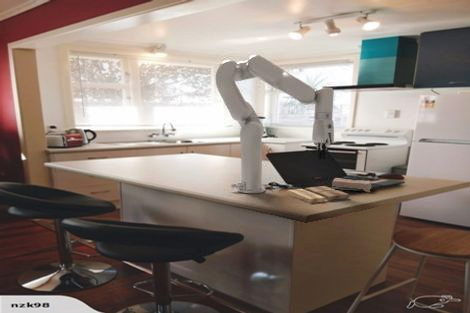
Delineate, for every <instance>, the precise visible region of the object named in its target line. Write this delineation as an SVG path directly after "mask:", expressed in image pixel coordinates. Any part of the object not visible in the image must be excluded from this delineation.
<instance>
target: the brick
mask: <svg viewBox="0 0 470 313" xmlns="http://www.w3.org/2000/svg"><path fill="white" fill-rule="evenodd" d="M331 184H332V187H333V186H336V187H349V188H358V189H363V190H364V191H365V192H364V193H371V191H370V189H371V190H372V182H371V181H370V180H362V179H361V180H358V179H356V180H353V179H346V178H341V177H334V179H333V180H332V183H331Z"/></svg>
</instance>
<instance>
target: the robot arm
mask: <svg viewBox="0 0 470 313" xmlns="http://www.w3.org/2000/svg"><path fill="white" fill-rule="evenodd" d="M256 78H258V79H260V80H261V81H263V82H264V83H266V84H268V85H269V86H271V87H272V88H275V89H276V90H279V91H281V92H283V93H284V94H287V95H289V96H290V97H292V98H293V99H294V100H296V101H298V102H299V103H300V104H302V105H307V106H308V105H309V106H310V105H314V114H313V115H314V117H313V118H314V120H313V125H312V134H311V135H312V136H311V138H312V141H313V144H314V145H315V146H316V150H317V152H316V159H317V160H325V159H326V154H327V153H326V152H327V149H328V148H329V147H331V144H333V143H334V141H335V129H334V126H335V125H334V121H333V113H334V111H333V109H334V96H335V95H334V94H335V93H334V88H332V87H317V88H314V87H312V86H311V85H310V84H307V83H305V82H304V81H302V79H301V80H300V79H299V78H297V77H296V76H294V75H292V74H291V73H289V72H288V71H286V70H284V68H282V67H280V66H278V65H276V64H274V63H273V62H271V61H270V60H268V59H267V58H265V57H263V56H261V55H260V54H252V55H251V56H249V58H248V59H247V60H245V61H239V62H236V61H235V60H232V59H226V60H224V61H223V62H221V63H220V65H219V66H218V68H217V70H216V73H215V85H216V88H217V90H218V93H219V94H220V96H221V97H220V98H222V100H223V102H224V105H225V107H227V108H226V109H227V110H228V112H229V114H230V116H231V117H232V119H234V120H235V121H236V122H238V124H239V127H240V132H239V141H240V142H239V143H240V180H239V181H238V182H233V183H231V184H230V187H231V188H233V189H234V188H236V189H237V191H238V192H239V193H243V194H261V193H264V192H266V187H264V186H263V147H262V146H263V145H262V144H263V141H262V138H263V136H264V134H265V128H264V126H263V123H262V122H261V120H260V118H259V117H258V114H257V112H256V111H255V109H254V108H253V107H254V106H252V104H251V103H249V102H248V101H246V100H245V98H244V97H243V94H242V92H241V91H240V89H239V87H238V85H237V84H236V82H241V81H245V80H250V79H256Z"/></svg>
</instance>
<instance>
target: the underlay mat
mask: <svg viewBox="0 0 470 313" xmlns="http://www.w3.org/2000/svg"><path fill="white" fill-rule="evenodd" d="M297 199H298V200H300V199H299V198H297ZM325 200H326V199H325ZM345 200H351V198H350V197H349V198H345V199H337V200H328V201H327V202H329V203H330V202H336V201H345ZM327 202H326V203H327ZM309 204H312V203H309Z"/></svg>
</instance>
